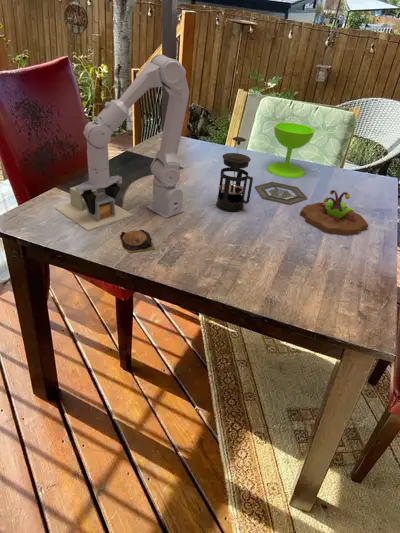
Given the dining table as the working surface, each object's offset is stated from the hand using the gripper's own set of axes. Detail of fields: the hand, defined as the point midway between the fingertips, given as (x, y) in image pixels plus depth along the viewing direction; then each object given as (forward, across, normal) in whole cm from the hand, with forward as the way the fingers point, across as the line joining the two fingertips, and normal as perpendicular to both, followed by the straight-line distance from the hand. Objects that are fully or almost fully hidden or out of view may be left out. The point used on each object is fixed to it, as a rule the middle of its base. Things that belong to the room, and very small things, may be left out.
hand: (101, 210), depth 120 cm
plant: (+3, -59, +47) cm, 75 cm away
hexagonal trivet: (+3, -63, +23) cm, 67 cm away
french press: (+2, -39, +19) cm, 43 cm away
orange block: (+2, 0, 0) cm, 2 cm away
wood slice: (+3, +1, +18) cm, 18 cm away
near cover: (+1, 0, 0) cm, 1 cm away
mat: (+2, 0, -4) cm, 5 cm away
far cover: (+2, 0, -9) cm, 9 cm away
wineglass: (+3, -86, +10) cm, 87 cm away
